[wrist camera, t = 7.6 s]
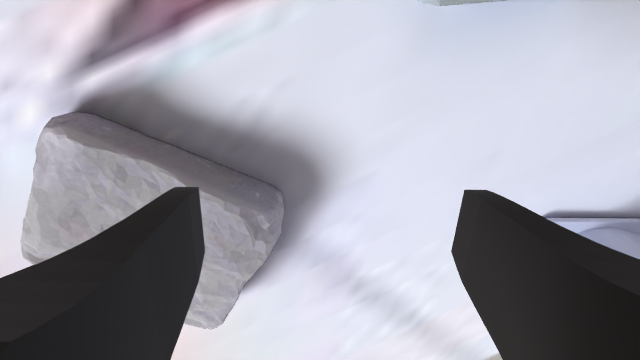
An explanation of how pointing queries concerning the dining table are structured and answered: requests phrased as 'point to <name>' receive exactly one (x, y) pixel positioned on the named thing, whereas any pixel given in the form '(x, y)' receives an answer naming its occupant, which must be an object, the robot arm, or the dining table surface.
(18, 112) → the dining table surface
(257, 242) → the stone block
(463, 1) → the grey-blue block
